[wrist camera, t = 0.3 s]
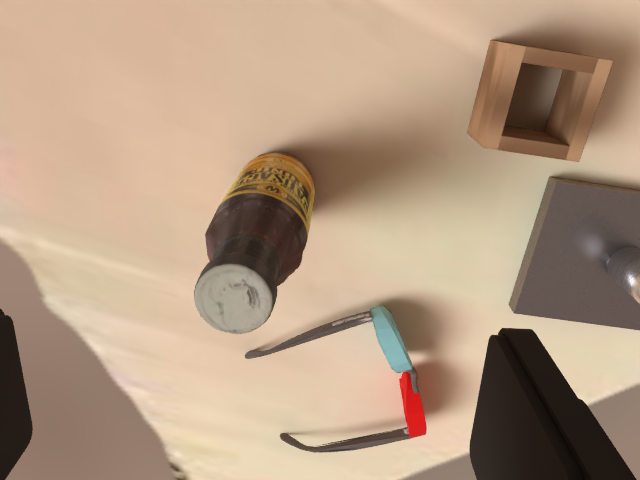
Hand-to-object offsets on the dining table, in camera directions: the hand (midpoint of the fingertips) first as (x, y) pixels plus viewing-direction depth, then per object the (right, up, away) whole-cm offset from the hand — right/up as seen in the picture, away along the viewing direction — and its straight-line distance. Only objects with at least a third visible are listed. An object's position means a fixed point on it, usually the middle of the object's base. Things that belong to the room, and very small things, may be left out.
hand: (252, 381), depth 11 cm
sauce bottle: (-2, +7, +35) cm, 36 cm away
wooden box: (+17, +14, +32) cm, 39 cm away
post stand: (+27, +1, +37) cm, 46 cm away
